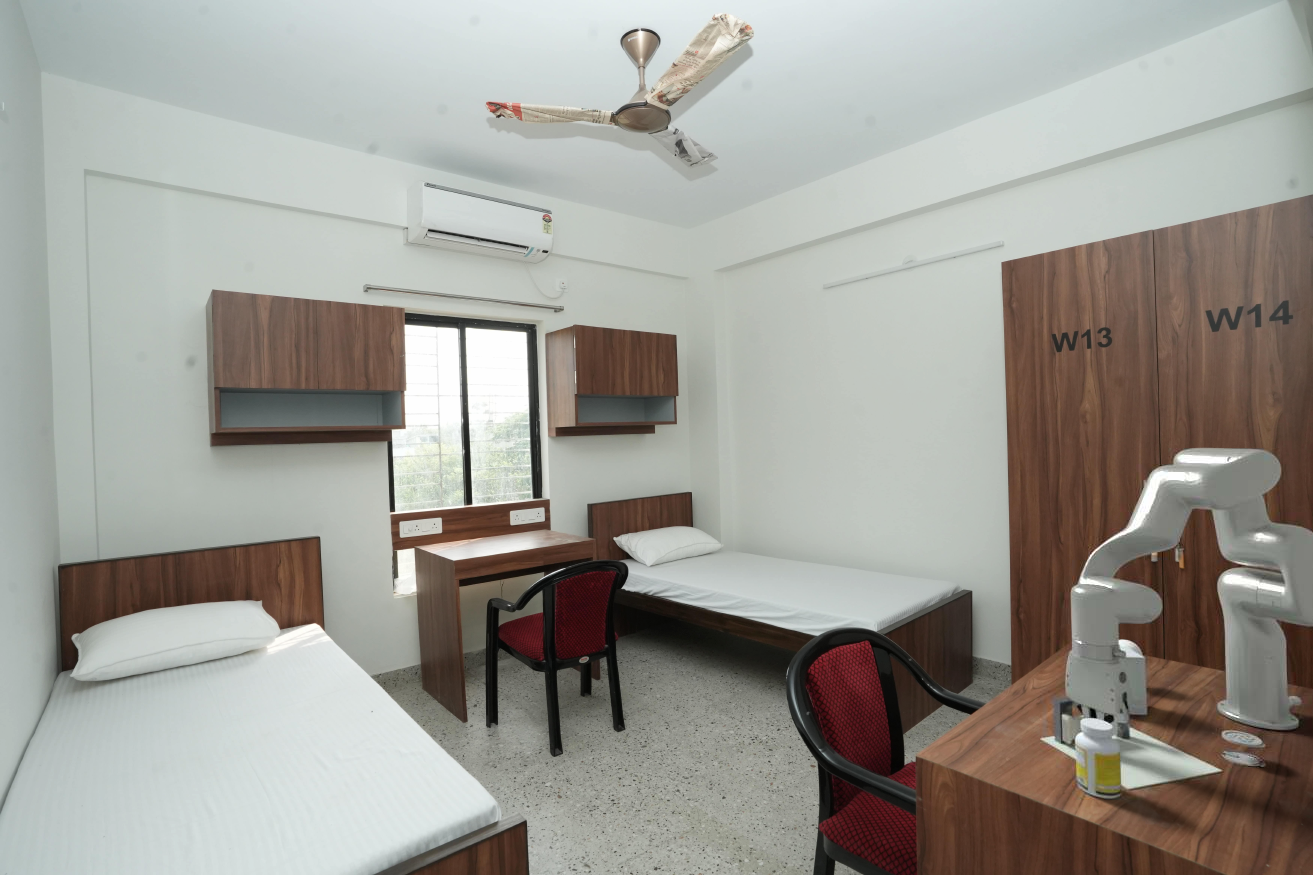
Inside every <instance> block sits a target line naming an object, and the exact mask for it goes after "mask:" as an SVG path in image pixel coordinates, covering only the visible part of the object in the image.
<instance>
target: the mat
mask: <svg viewBox="0 0 1313 875" xmlns="http://www.w3.org/2000/svg"><path fill="white" fill-rule="evenodd" d="M1112 738H1113V739H1114V740H1115V741H1117V743H1118V744H1119V746H1120V761H1121V787H1123V789H1124V788H1125V789H1126V790H1128V791H1129V790H1134V789H1140V788H1144V787H1151V786H1155V785H1159V784H1166V783H1170V782H1175V781H1181V780H1186V779H1191V778H1195V777H1202V776H1206V775H1211V774H1217V773H1222V772H1223V769H1220V768H1218V767H1216V766H1214V765H1212V764H1209V763H1207V762H1205V761H1203V760H1201V759H1199V758H1196V757H1195V756H1192V755H1190V754H1188V753H1186V752H1184V751H1182V750H1180V749H1177V748H1175V747H1173V746H1171V745H1169V744H1167V743H1164V742H1163V741H1160V740H1159V739H1156V738H1154V737H1152V736H1150V735H1148V734H1145V733H1144V732H1141V731H1138V730H1137V729H1135V728H1133V727H1131V726H1130V739H1121V738H1118V737H1117V736H1116V735H1114V736H1112ZM1040 741H1042V742H1044V743H1046V744H1048V745H1049V746H1051V747H1053V748H1055V749H1056V750H1058V751H1060V752H1062V753H1064V754H1065V755H1067V756H1069V757H1071V758H1072V759H1074V760H1076V748H1075V744H1074V745H1068V744H1067V743H1063V744H1060V743H1058V742H1057V741H1055V735H1053V736H1052V735H1051V736H1047V737H1041V738H1040Z"/></svg>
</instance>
